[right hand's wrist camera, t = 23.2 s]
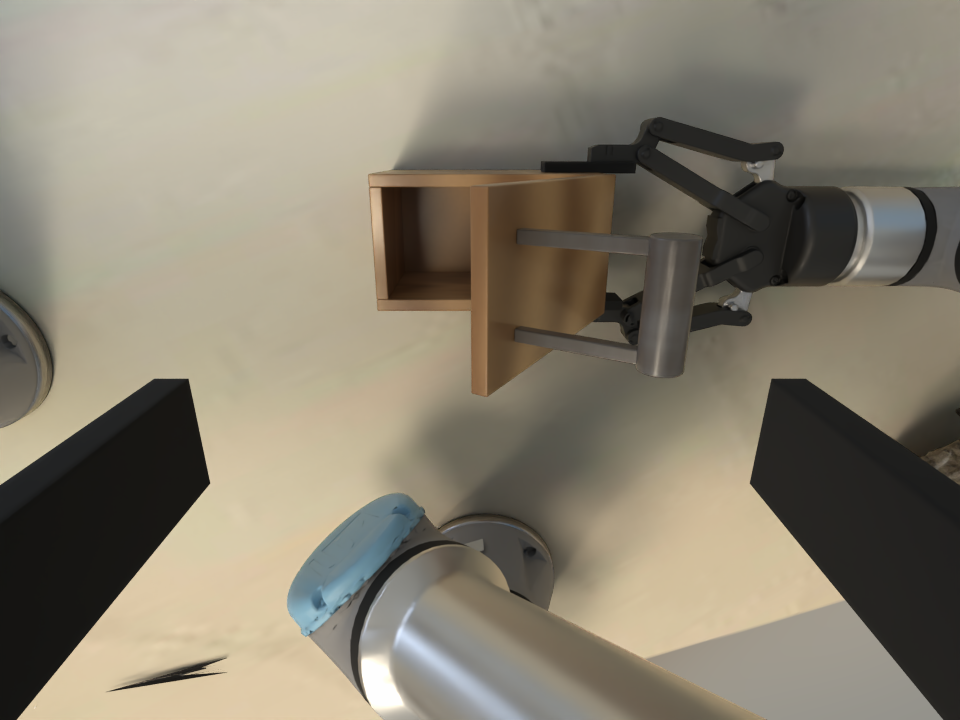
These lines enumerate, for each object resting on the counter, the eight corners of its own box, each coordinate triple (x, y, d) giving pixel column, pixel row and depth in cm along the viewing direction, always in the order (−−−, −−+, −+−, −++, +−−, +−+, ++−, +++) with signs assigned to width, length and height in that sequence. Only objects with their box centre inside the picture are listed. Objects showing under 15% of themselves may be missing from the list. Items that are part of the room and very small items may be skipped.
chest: (397, 279, 50) (377, 310, 40) (391, 169, 46) (367, 173, 36) (573, 279, 50) (597, 310, 40) (579, 169, 46) (607, 173, 36)
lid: (471, 393, 26) (661, 441, 22) (469, 185, 23) (694, 192, 18) (592, 311, 39) (724, 330, 35) (602, 174, 36) (750, 176, 32)
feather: (41, 695, 70) (26, 702, 68) (234, 654, 66) (224, 660, 64) (42, 710, 70) (27, 717, 68) (236, 669, 66) (226, 676, 64)
